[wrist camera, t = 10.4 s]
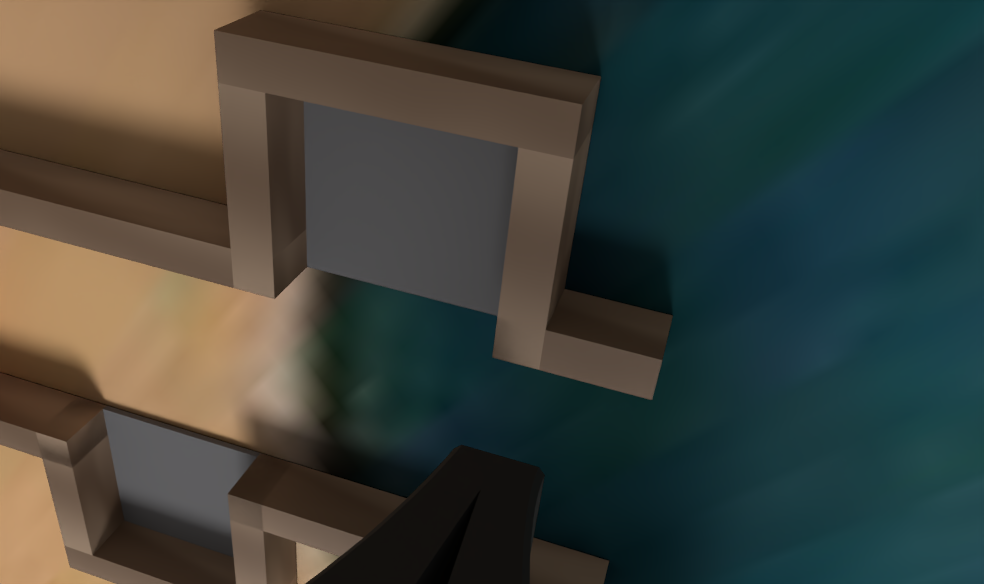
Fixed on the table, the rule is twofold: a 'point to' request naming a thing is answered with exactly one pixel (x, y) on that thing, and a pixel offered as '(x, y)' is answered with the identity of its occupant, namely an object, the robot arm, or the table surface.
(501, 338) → the trap lane
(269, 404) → the table surface
